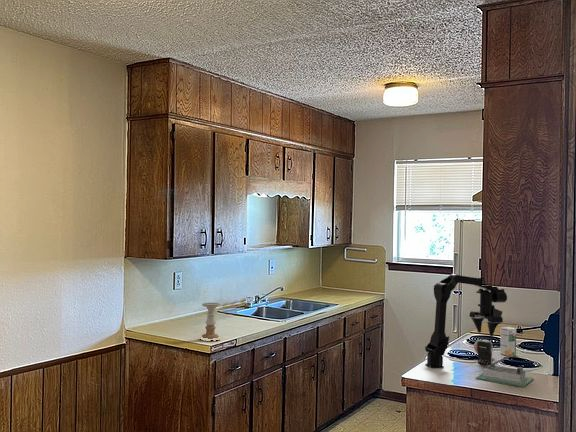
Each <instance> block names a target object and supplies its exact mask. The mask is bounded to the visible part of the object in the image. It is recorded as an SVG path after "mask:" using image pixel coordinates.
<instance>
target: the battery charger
mask: <svg viewBox="0 0 576 432" xmlns="http://www.w3.org/2000/svg"><path fill="white" fill-rule="evenodd" d="M479 340H480V341H478V343H477V351H478V354H477V364H480V365H485V366H487V365H491V363H493V351H494V350H493V343H492V342H491V341H489V340H488V341H485V340H484V339H479Z"/></svg>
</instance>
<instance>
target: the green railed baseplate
mask: <svg viewBox="0 0 576 432" xmlns="http://www.w3.org/2000/svg"><path fill="white" fill-rule="evenodd" d="M493 363H494V362H492V363H491V364H493ZM486 366H487V367H485V368H484V369H483V372H482V373H481V374H479V375H477V376H476V377H475V379H476V380H480V381H485V382H492V383H498V384H502V385H507V386H512V387H519V388H525V387H526V386H527V385H528V384H530V383H531V382H532V381H533V380H534V379H535V378H534V377H530V376H528V375H527V371H526V370H524V367H522V366H518V367H517V368H511V367H506V366H499V365H496V364H495V365H493V366H492V365H486Z"/></svg>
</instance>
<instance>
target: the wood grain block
mask: <svg viewBox="0 0 576 432" xmlns="http://www.w3.org/2000/svg"><path fill="white" fill-rule="evenodd" d="M505 354H506V355H507V356H506V355H505V357H502V358H501V359H499V360H497V361H495V362H492V363H493V364H491V365H492V366H493V365H495V366H496V365H497V364H498V363H501V362H504V361H505V360H507V359H509V358H510V357H513V356H514V355H513V353H512V352H511V350H510V349H508V350H506V351H505Z"/></svg>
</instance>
